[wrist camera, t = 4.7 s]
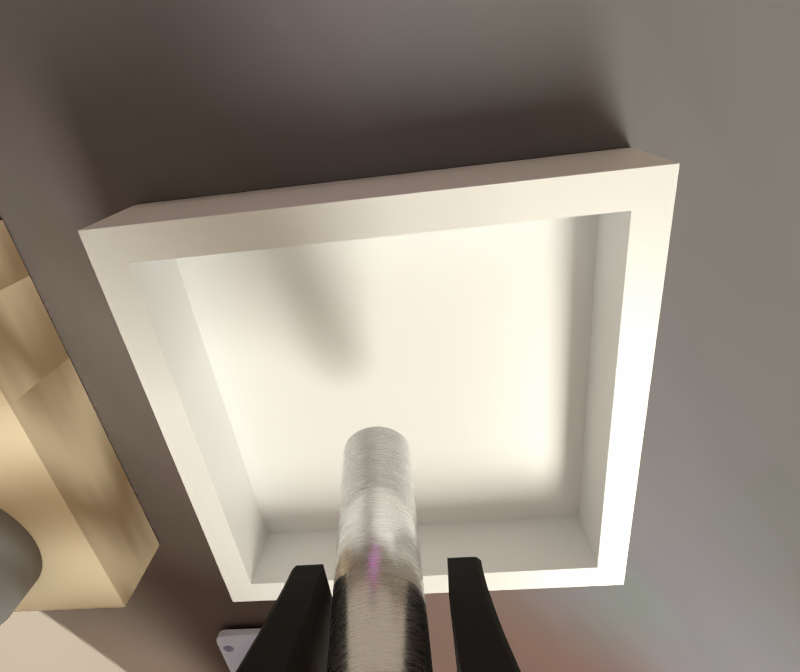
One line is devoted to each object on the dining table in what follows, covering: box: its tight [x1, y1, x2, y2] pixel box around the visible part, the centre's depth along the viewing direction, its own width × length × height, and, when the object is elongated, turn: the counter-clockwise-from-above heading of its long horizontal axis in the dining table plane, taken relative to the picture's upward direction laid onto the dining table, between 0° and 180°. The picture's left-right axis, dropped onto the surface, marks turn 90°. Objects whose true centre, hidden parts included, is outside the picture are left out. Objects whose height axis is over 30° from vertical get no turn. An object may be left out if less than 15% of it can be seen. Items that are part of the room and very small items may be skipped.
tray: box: [78, 147, 680, 602], centre depth 17 cm, size 15×15×3 cm
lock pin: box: [327, 426, 433, 672], centre depth 11 cm, size 3×3×8 cm
